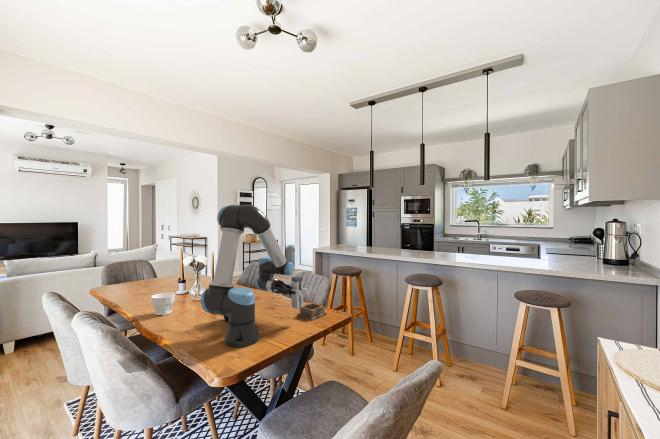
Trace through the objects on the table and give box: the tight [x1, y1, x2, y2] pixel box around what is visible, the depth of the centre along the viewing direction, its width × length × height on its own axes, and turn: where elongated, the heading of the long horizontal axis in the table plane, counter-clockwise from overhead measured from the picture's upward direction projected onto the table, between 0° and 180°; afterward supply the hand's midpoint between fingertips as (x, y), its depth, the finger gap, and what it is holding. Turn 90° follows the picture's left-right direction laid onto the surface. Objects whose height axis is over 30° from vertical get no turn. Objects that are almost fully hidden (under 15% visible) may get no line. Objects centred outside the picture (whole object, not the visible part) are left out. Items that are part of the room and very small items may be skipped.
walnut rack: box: [296, 302, 328, 321], centre depth 167 cm, size 12×12×5 cm
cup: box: [150, 291, 176, 315], centre depth 174 cm, size 12×12×11 cm
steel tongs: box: [290, 275, 304, 310], centre depth 156 cm, size 4×6×16 cm
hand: (304, 292), depth 153 cm, fingers closed on steel tongs, 4 cm apart
